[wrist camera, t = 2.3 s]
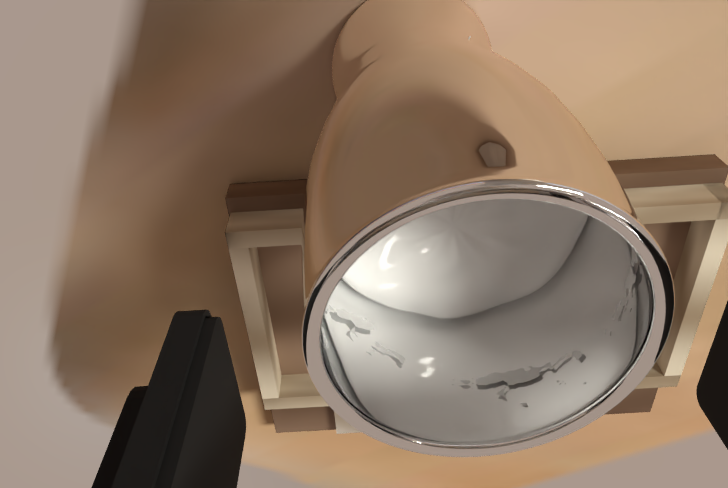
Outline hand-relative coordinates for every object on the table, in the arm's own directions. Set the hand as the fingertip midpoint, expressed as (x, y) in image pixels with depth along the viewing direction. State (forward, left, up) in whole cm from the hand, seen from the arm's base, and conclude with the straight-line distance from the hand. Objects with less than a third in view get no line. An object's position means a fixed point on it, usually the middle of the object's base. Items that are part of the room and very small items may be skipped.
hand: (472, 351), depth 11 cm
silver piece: (-1, 0, -15) cm, 15 cm away
